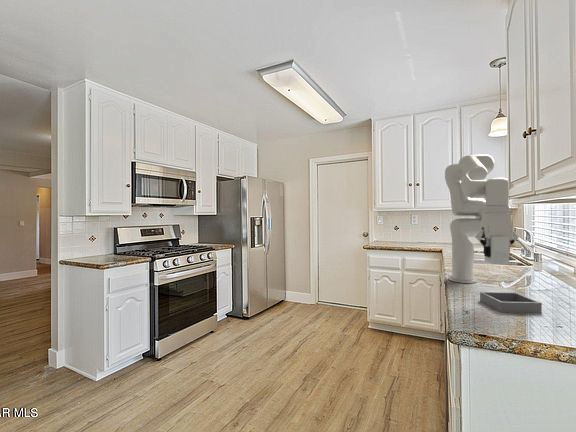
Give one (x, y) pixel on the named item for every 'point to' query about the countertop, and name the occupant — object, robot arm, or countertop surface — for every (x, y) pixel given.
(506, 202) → the robot arm
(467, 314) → the countertop surface
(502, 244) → the small box
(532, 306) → the tray
